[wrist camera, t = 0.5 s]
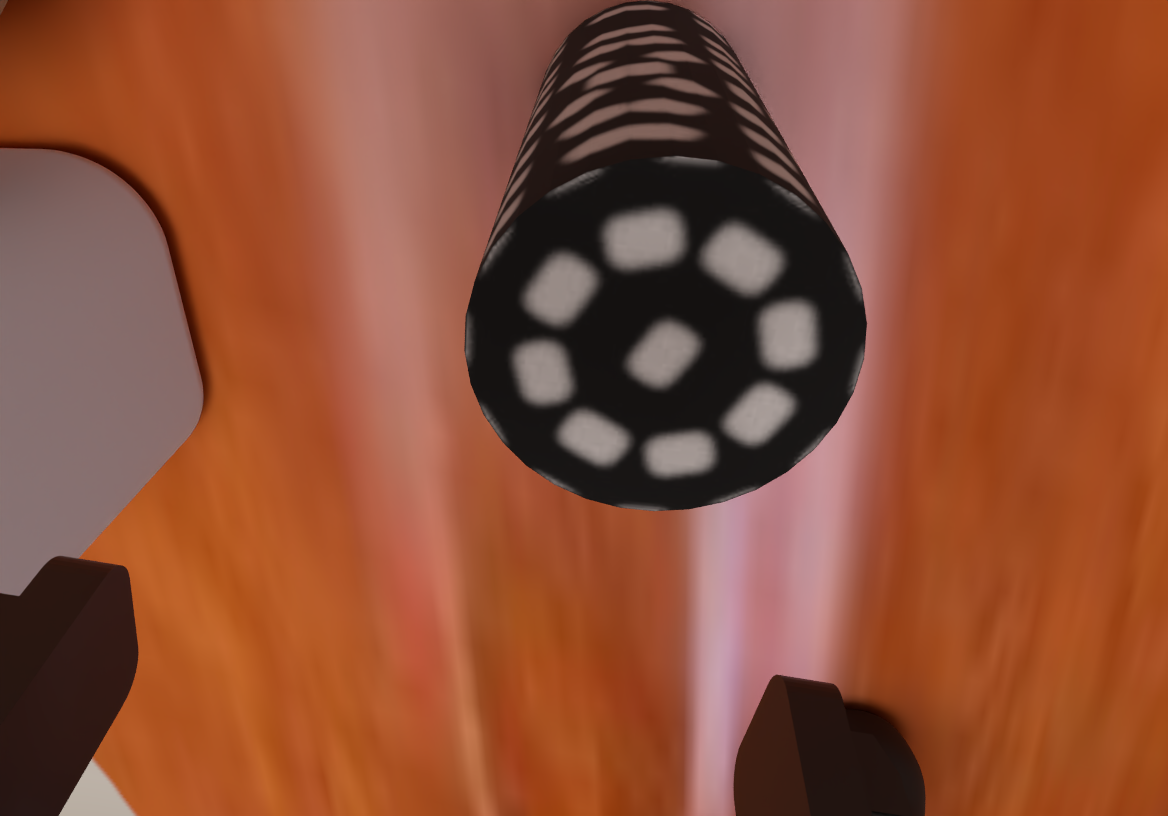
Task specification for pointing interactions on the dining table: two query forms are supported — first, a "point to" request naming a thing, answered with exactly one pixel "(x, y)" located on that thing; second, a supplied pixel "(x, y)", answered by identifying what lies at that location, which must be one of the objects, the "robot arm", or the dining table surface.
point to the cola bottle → (893, 755)
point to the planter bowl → (2, 5)
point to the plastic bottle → (82, 356)
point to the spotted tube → (660, 277)
